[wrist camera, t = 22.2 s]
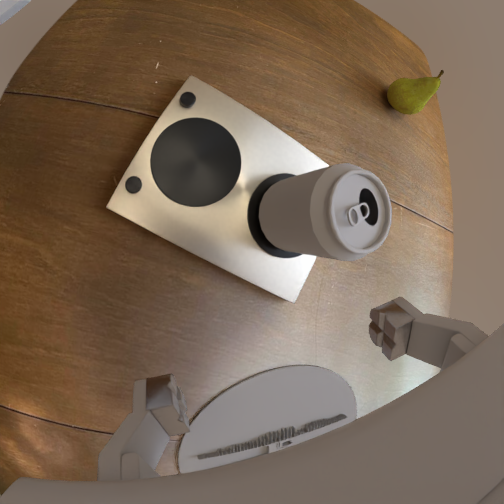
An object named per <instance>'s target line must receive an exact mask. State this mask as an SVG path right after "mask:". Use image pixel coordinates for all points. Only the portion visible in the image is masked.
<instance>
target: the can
mask: <svg viewBox="0 0 504 504" xmlns="http://www.w3.org/2000/svg"><path fill="white" fill-rule="evenodd" d="M391 219H392V208H391V202H390V197H389V195H388V192H387V190H386V188H385V186H384V185H383V183H382V182H381V180H380V179H379V178H378V177H377V176H376V175H374V174H373V173H372V172H370V171H367V170H364V169H362V168H360V167H359V166H356V165H352V164H349V163H344V164H336V165H332V166H329V167H325V168H321V169H318V170H314V171H311V172H307V173H304V174H301V175H297V176H294V177H290V178H287V179H284V180H280V181H279V182H277V183H275V184H274V185H272V186H271V187H270V188H269V189H268V190H267V191H266V193H265V194H264V196H263V198H262V201H261V203H260V208H259V220H260V225H261V229H262V231H263V233H264V235H265V236H266V238H267V239H268V240H269V241H270V242H271V243H272V244H273V245H274V246H275V247H277V248H279V249H282V250H284V251H289V252H295V253H301V254H306V255H312V256H318V257H324V258H330V259H336V260H343V261H355V260H357V259H360V258H363V257H365V256H366V255H367V254H368V253H371V252H373V251H375V250H376V249H377V248H379V247H380V246H381V245H382V244H383V242H384V240H385V239H386V237H387V235H388V233H389V229H390V226H391Z"/></svg>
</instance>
